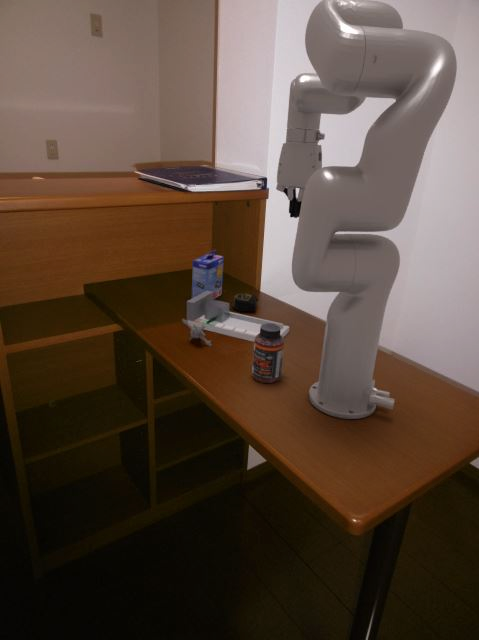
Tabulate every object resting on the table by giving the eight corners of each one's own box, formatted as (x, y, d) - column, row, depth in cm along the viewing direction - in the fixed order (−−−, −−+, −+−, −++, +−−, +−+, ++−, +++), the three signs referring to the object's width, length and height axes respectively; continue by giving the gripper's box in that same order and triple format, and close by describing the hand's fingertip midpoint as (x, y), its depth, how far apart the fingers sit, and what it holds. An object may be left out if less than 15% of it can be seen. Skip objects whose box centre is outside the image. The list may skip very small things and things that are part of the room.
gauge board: (288, 331, 115) (291, 308, 113) (273, 346, 107) (276, 321, 104) (206, 313, 125) (206, 290, 122) (186, 325, 116) (186, 301, 114)
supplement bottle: (247, 380, 92) (250, 329, 88) (257, 367, 97) (260, 318, 93) (275, 387, 90) (280, 335, 86) (284, 373, 95) (289, 324, 91)
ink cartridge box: (207, 304, 131) (208, 255, 125) (190, 300, 133) (191, 252, 127) (223, 294, 139) (224, 248, 134) (207, 291, 141) (208, 245, 136)
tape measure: (255, 314, 125) (256, 302, 124) (230, 312, 126) (231, 299, 125) (257, 306, 132) (258, 294, 130) (234, 304, 132) (234, 291, 131)
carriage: (229, 317, 118) (229, 303, 117) (216, 326, 112) (216, 311, 111) (212, 313, 120) (212, 299, 119) (198, 322, 114) (199, 307, 113)
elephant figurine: (218, 335, 112) (219, 338, 104) (203, 351, 112) (203, 355, 103) (190, 310, 111) (190, 310, 103) (175, 326, 111) (173, 328, 103)
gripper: (337, 139, 107) (328, 218, 114) (278, 136, 113) (272, 211, 120) (329, 139, 101) (319, 222, 108) (266, 136, 106) (261, 215, 113)
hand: (295, 216), depth 114 cm, fingers closed
